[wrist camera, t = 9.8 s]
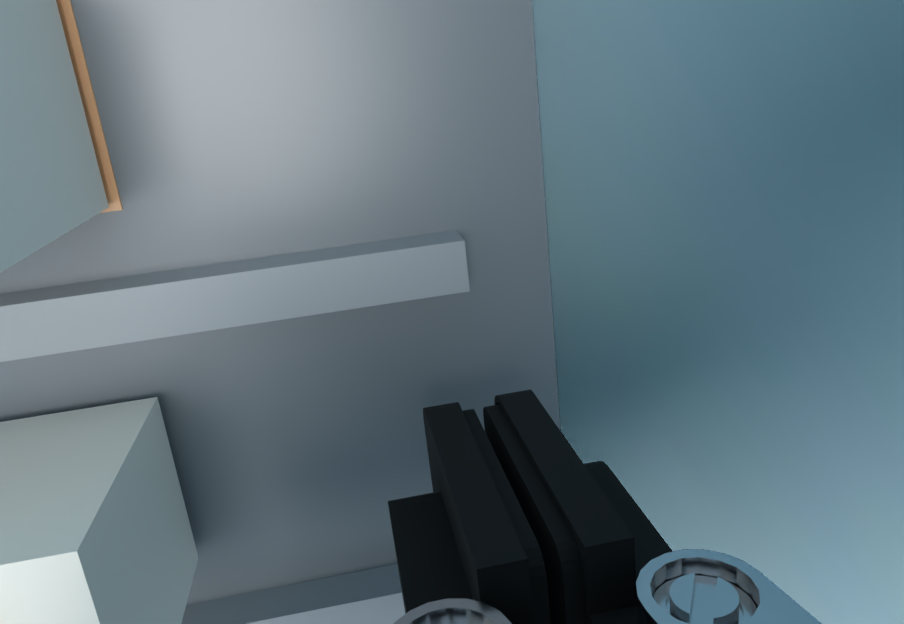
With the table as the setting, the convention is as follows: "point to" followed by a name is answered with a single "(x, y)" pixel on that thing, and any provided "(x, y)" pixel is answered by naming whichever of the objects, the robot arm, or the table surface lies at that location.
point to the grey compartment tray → (295, 270)
